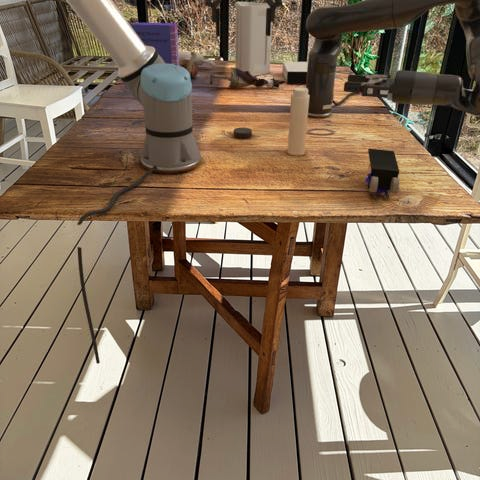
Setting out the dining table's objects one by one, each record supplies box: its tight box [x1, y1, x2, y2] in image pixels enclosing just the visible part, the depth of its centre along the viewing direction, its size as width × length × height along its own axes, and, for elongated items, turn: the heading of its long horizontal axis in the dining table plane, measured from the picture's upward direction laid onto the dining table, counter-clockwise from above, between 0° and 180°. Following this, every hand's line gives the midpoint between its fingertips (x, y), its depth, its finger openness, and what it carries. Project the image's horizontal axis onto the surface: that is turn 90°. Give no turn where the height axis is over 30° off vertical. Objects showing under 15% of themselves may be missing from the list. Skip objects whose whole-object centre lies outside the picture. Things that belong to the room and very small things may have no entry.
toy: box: [178, 51, 217, 69], centre depth 222 cm, size 24×25×7 cm
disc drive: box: [281, 61, 308, 85], centre depth 207 cm, size 18×22×5 cm
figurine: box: [209, 66, 287, 89], centre depth 190 cm, size 24×8×30 cm
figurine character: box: [365, 148, 400, 200], centre depth 109 cm, size 7×8×15 cm
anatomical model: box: [179, 51, 199, 79], centre depth 200 cm, size 13×9×15 cm
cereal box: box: [128, 21, 180, 66], centre depth 181 cm, size 17×5×24 cm, turn 86°
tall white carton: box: [234, 1, 273, 77], centre depth 210 cm, size 19×15×28 cm
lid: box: [233, 126, 253, 140], centre depth 142 cm, size 5×5×2 cm
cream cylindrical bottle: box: [286, 86, 310, 157], centre depth 127 cm, size 5×5×17 cm
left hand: (243, 35), depth 128 cm, fingers open, 13 cm apart
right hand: (346, 82), depth 118 cm, fingers open, 8 cm apart
